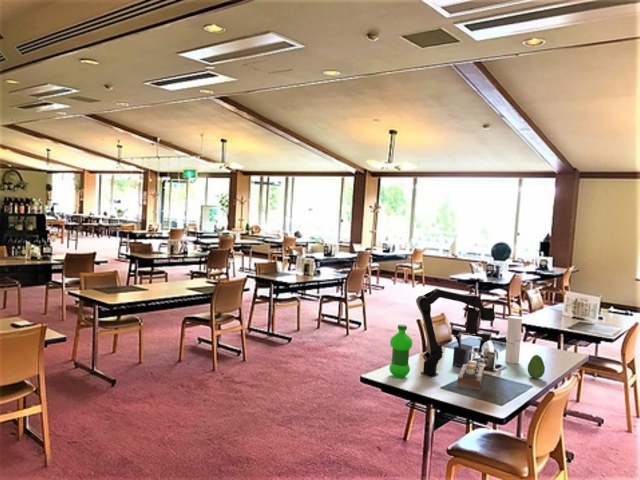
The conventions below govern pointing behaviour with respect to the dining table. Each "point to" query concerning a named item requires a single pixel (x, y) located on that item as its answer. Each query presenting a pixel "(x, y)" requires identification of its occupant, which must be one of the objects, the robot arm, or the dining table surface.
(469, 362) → the button cream
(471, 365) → the button terracotta
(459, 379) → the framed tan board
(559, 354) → the dining table surface
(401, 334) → the plastic bottle
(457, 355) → the small box
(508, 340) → the cylindrical container
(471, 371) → the button sage
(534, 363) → the avocado
